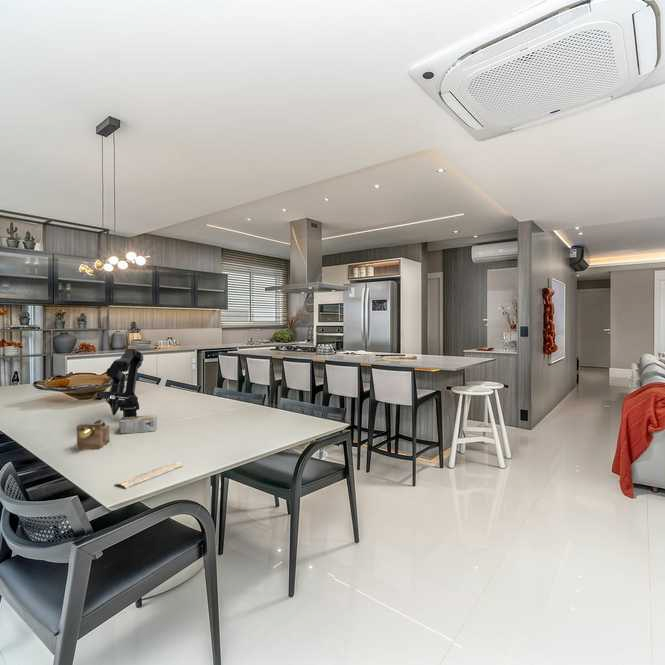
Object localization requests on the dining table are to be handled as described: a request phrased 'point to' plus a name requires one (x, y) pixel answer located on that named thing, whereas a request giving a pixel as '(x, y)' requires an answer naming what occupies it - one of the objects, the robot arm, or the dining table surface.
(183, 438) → the dining table surface
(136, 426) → the coffee box
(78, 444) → the mount
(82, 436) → the lock pin
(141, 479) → the beige curved strip
